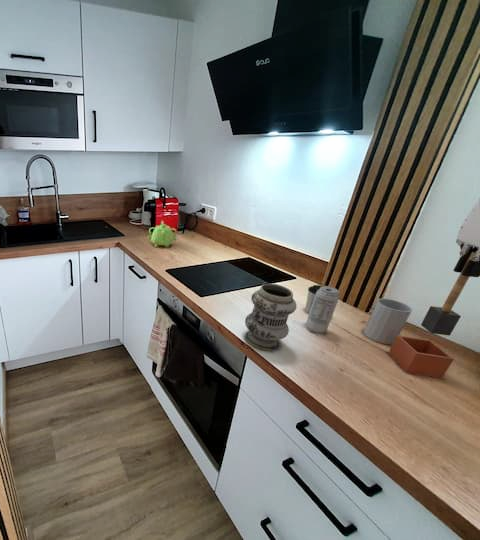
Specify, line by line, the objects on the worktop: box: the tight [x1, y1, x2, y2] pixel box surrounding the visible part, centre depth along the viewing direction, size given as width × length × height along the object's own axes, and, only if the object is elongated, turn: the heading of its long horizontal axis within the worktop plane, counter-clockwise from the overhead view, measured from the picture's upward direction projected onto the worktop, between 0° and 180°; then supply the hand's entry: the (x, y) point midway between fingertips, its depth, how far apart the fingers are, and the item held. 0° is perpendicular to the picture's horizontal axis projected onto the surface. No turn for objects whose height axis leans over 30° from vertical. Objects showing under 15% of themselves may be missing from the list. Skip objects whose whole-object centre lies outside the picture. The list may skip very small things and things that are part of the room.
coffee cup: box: [304, 284, 322, 314], centre depth 104 cm, size 7×7×10 cm
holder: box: [387, 335, 455, 379], centre depth 79 cm, size 8×8×6 cm
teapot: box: [147, 220, 178, 248], centre depth 172 cm, size 16×14×13 cm
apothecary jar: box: [244, 283, 297, 352], centre depth 85 cm, size 12×12×18 cm
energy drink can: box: [305, 285, 340, 334], centre depth 93 cm, size 6×6×15 cm
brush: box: [420, 252, 476, 336], centre depth 72 cm, size 4×4×22 cm
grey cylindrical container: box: [363, 297, 413, 345], centre depth 90 cm, size 8×8×12 cm
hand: (465, 273), depth 69 cm, fingers closed on brush
